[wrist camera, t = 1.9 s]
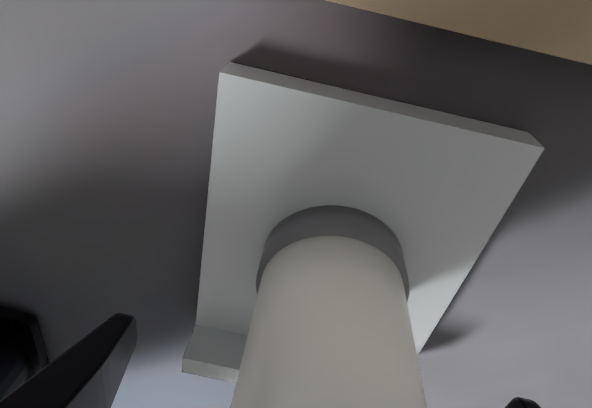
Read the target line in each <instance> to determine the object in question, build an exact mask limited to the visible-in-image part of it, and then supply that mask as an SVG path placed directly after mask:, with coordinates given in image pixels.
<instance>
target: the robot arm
mask: <svg viewBox="0 0 592 408" xmlns="http://www.w3.org/2000/svg"><path fill="white" fill-rule="evenodd" d="M136 339H137V336H136V318H135V317H134V316H132V315H127V314H122V313H118V314H115V315H113V316H112V317H111V318H109V319H108V320H107V321H105V322H104V323H103V324H101V325H100V326H99V327H97V328H96V329H95V330H93V331H92V332H91V333H90V334H88V335H87V336H86V337H84V338H83V339H82V340H80V341H79V342H78V343H76V344H75V345H74V346H72V347H71V348H70V349H68V350H67V351H66V352H64V353H63V354H62V355H60V356H59V357H58V358H56V359H55V360H54V361H53V362H51V363H50V364H49V365H48V362H47V358H46V354H45V350H44V346H43V342H42V338H41V333H40V329H39V325H38V322H37V320H36V319H35V318H34V317H33V316H32V315H30V314H28V313H25V312H21V311H16V310H12V309H7V308H2V307H0V408H111V405H112V403H113V400H114V398H115V395H116V393H117V390H118V388H119V385H120V383H121V380H122V378H123V375H124V373H125V370H126V368H127V365H128V363H129V360H130V358H131V355H132V353H133V350H134V348H135V345H136ZM505 408H541V407H540V406H539V405H538V404H537V403H536V402H534V401H532V400H529V399H524V398H520V397H516V398H514V399H512V400H511V402H510V403H509V404H508V405H507V406H506V407H505Z"/></svg>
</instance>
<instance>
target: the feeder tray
mask: <svg viewBox="0 0 592 408" xmlns="http://www.w3.org/2000/svg"><path fill="white" fill-rule="evenodd" d="M544 149H545V148H544V147H543V146H542V145H541V144H540V143H539V142H538V141H537V140H536V139H535V138H534V137H533V136H532V135H531V134H530V133H529V132H526V131H521V130H517V129H513V128H509V127H504V126H500V125H496V124H492V123H487V122H483V121H479V120H475V119H470V118H466V117H462V116H458V115H453V114H449V113H445V112H441V111H436V110H432V109H428V108H424V107H419V106H415V105H411V104H407V103H402V102H398V101H394V100H390V99H385V98H381V97H377V96H373V95H368V94H364V93H360V92H356V91H351V90H347V89H343V88H338V87H334V86H330V85H326V84H321V83H317V82H313V81H309V80H304V79H300V78H296V77H292V76H287V75H283V74H279V73H275V72H270V71H266V70H262V69H258V68H253V67H249V66H245V65H241V64H236V63H232V62H229V63H228V64H227V65H226V66H225V67H224V68H223V69H222V70H221V71H220V72H219V82H218V92H217V103H216V114H215V124H214V135H213V145H212V156H211V167H210V177H209V188H208V199H207V209H206V220H205V230H204V241H203V252H202V262H201V273H200V284H199V294H198V305H197V315H196V325H195V328H194V330H193V333H192V335H191V338H190V340H189V343H188V346H187V348H186V351H185V353H184V356H183V361H182V372H184V373H189V374H194V375H199V376H203V377H208V378H213V379H218V380H223V381H227V382H232V383H236V382H237V378H238V374H239V370H240V365H241V361H242V357H243V353H244V349H245V345H246V340H247V336H248V332H249V328H250V324H251V320H252V315H253V311H254V307H255V303H256V299H257V292H256V276H257V272H258V268H259V264H260V260H261V256H262V252H263V249H264V245H265V242H266V240H267V238H268V236H269V234H270V233H271V231H272V230H273V229H274V228H275V227H276V226H277V225H278V224H279V223H280V222H281V221H282V220H284V219H285V218H286V217H288V216H290V215H292V214H293V213H296V212H298V211H300V210H303V209H307V208H310V207H316V206H323V205H338V206H346V207H352V208H355V209H359V210H362V211H364V212H367V213H369V214H371V215H373V216H375V217H376V218H378V219H379V220H381V221H382V222H383V223H385V224H386V225H387V226H388V227H389V228H390V229H391V230H392V231H393V233H394V234H395V235H396V237H397V239H398V241H399V242H400V245H401V248H402V251H403V256H404V260H405V265H406V270H407V275H408V280H409V297H408V301H407V305H408V311H409V316H410V321H411V327H412V332H413V337H414V343H415V348H416V353H417V356H418V354H419V352H420V351H421V349H422V348H423V346H424V344H425V343H426V341H427V339H428V338H429V336H430V335H431V333H432V331H433V330H434V328H435V326H436V325H437V323H438V321H439V320H440V318H441V317H442V315H443V313H444V312H445V310H446V308H447V307H448V305H449V304H450V302H451V300H452V299H453V297H454V295H455V294H456V292H457V291H458V289H459V287H460V286H461V284H462V282H463V281H464V279H465V277H466V276H467V274H468V273H469V271H470V269H471V268H472V266H473V264H474V263H475V261H476V260H477V258H478V256H479V255H480V253H481V251H482V250H483V248H484V247H485V245H486V243H487V242H488V240H489V238H490V237H491V235H492V234H493V232H494V230H495V229H496V227H497V225H498V224H499V222H500V220H501V219H502V217H503V216H504V214H505V212H506V211H507V209H508V207H509V206H510V204H511V203H512V201H513V199H514V198H515V196H516V194H517V193H518V191H519V190H520V188H521V186H522V185H523V183H524V181H525V180H526V178H527V176H528V175H529V173H530V172H531V170H532V168H533V167H534V165H535V163H536V162H537V160H538V159H539V157H540V155H541V154H542V152H543V150H544Z"/></svg>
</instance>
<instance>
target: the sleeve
mask: <svg viewBox="0 0 592 408" xmlns="http://www.w3.org/2000/svg"><path fill="white" fill-rule="evenodd" d="M256 292H257V299H256V303H255V307H254V311H253V315H252V320H251V324H250V328H249V332H248V336H247V340H246V345H245V349H244V353H243V357H242V361H241V365H240V370H239V374H238V378H237V382H236V386H235V390H234V395H233V399H232V403H231V407H230V408H427V406H426V401H425V396H424V390H423V385H422V380H421V375H420V369H419V364H418V359H417V353H416V348H415V343H414V337H413V332H412V327H411V321H410V316H409V311H408V305H407V301H408V297H409V280H408V275H407V270H406V265H405V260H404V256H403V251H402V248H401V245H400V242H399V241H398V239H397V237H396V235H395V234H394V233H393V231H392V230H391V229H390V228H389V227H388V226H387V225H386V224H385V223H383V222H382V221H381V220H379V219H378V218H376V217H375V216H373V215H371V214H369V213H367V212H364V211H362V210H359V209H355V208H352V207H346V206H338V205H323V206H316V207H310V208H307V209H303V210H300V211H298V212H296V213H293V214H292V215H290V216H288V217H286V218H285V219H284V220H282V221H281V222H280V223H279V224H278V225H277V226H276V227H275V228H274V229H273V230H272V231H271V233H270V234H269V236H268V238H267V240H266V242H265V245H264V249H263V252H262V256H261V260H260V264H259V268H258V272H257V276H256Z"/></svg>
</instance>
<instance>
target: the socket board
mask: <svg viewBox="0 0 592 408" xmlns="http://www.w3.org/2000/svg"><path fill="white" fill-rule="evenodd" d="M326 1H330V2H334V3H338V4H342V5H346V6H350V7H355V8H359V9H363V10H367V11H371V12H375V13H379V14H383V15H388V16H392V17H396V18H400V19H404V20H408V21H412V22H417V23H421V24H425V25H429V26H433V27H437V28H441V29H445V30H450V31H454V32H458V33H462V34H466V35H470V36H474V37H479V38H483V39H487V40H491V41H495V42H499V43H503V44H507V45H512V46H516V47H520V48H524V49H528V50H532V51H536V52H541V53H545V54H549V55H553V56H557V57H561V58H565V59H569V60H574V61H578V62H582V63H586V64H590V65H592V0H326Z"/></svg>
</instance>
